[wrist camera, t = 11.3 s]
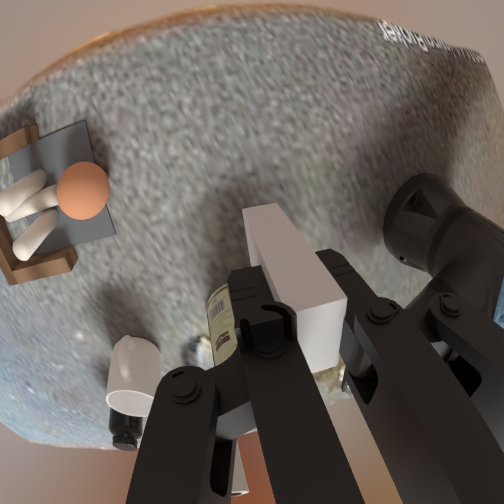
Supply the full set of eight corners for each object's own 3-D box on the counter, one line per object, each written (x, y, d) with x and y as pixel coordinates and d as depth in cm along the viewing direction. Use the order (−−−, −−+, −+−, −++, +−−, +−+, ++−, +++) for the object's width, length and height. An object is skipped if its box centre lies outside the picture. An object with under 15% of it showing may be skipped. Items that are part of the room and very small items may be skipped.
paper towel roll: (207, 403, 52) (223, 493, 34) (233, 404, 54) (253, 490, 36) (199, 416, 55) (212, 498, 37) (224, 417, 57) (241, 496, 39)
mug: (102, 317, 36) (89, 372, 27) (155, 317, 38) (152, 375, 29) (119, 365, 42) (114, 415, 33) (164, 366, 44) (165, 417, 35)
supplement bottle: (141, 390, 46) (140, 443, 36) (144, 405, 50) (145, 454, 39) (108, 387, 44) (104, 439, 34) (114, 403, 48) (111, 450, 38)
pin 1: (45, 165, 24) (7, 189, 17) (50, 184, 25) (14, 212, 18) (30, 171, 23) (-8, 196, 16) (36, 190, 25) (-1, 219, 18)
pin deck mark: (85, 120, 23) (85, 120, 23) (115, 234, 30) (115, 234, 30) (8, 155, 21) (7, 155, 21) (42, 253, 29) (41, 254, 29)
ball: (58, 167, 24) (105, 149, 25) (74, 214, 27) (119, 198, 29) (41, 181, 19) (95, 159, 21) (61, 236, 22) (113, 218, 24)
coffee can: (264, 332, 44) (290, 405, 32) (201, 329, 41) (211, 410, 29) (284, 280, 39) (323, 357, 27) (212, 274, 36) (227, 360, 24)
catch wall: (36, 123, 21) (23, 127, 18) (78, 258, 30) (71, 271, 28) (-24, 159, 20) (-37, 165, 17) (18, 273, 29) (9, 285, 26)
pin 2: (56, 204, 26) (24, 237, 19) (63, 222, 28) (33, 258, 20) (42, 209, 26) (9, 242, 19) (48, 226, 27) (18, 262, 20)
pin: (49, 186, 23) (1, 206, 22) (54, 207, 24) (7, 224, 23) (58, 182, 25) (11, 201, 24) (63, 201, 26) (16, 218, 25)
